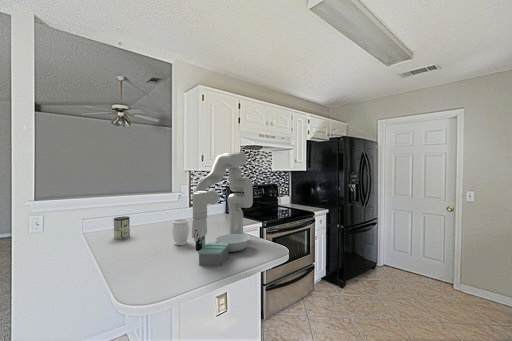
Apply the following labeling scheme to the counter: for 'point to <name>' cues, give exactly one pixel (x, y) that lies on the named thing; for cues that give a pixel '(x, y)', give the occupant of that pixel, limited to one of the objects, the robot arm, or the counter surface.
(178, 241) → the jar
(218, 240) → the serving bowl
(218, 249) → the lid
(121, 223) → the coffee can
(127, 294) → the counter surface
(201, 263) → the tub
